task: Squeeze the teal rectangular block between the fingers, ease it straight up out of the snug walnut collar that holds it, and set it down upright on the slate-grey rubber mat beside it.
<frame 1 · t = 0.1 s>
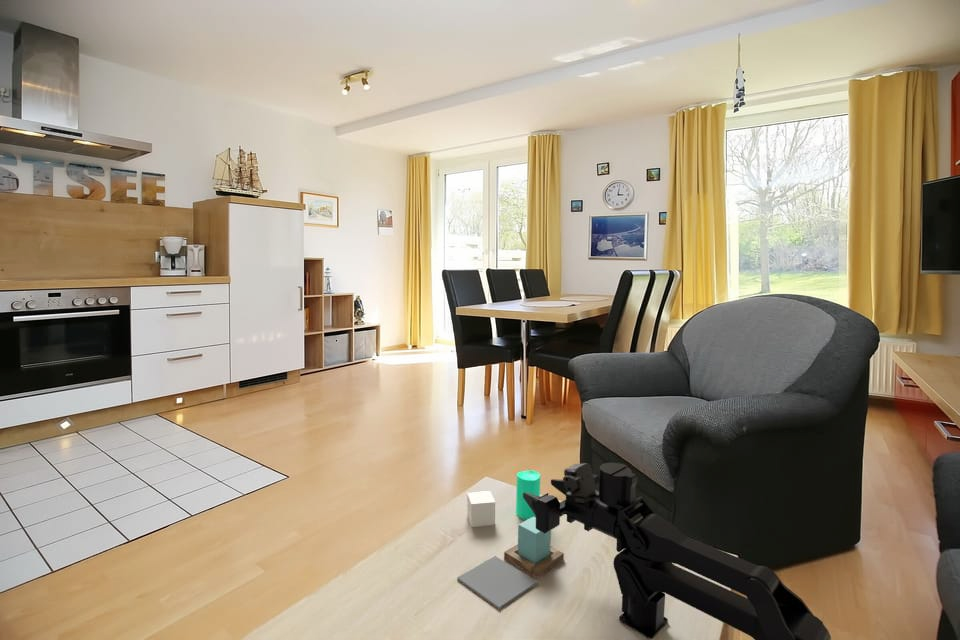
hand: (537, 487, 107), 17 cm above the table, tool horizontal, fingers open, 9 cm apart
white cube: (480, 520, 126), on the table
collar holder: (533, 558, 110), on the table
teal rectangular block: (533, 559, 110), resting in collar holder
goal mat: (496, 581, 102), on the table
candle: (527, 514, 129), on the table
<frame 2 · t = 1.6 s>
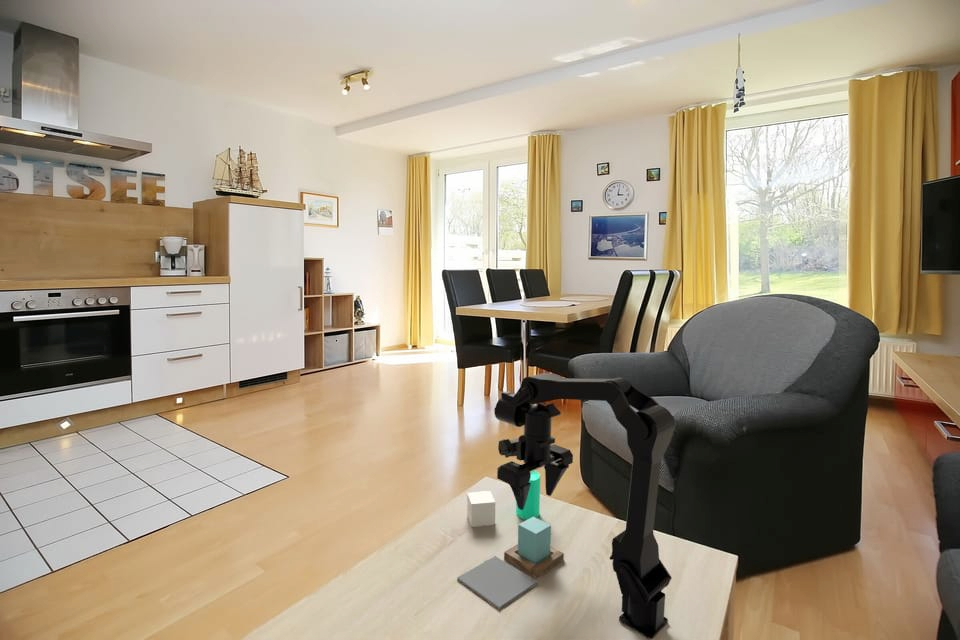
hand: (535, 501, 108), 13 cm above the table, tool pointing down, fingers open, 9 cm apart
nothing on the table moved.
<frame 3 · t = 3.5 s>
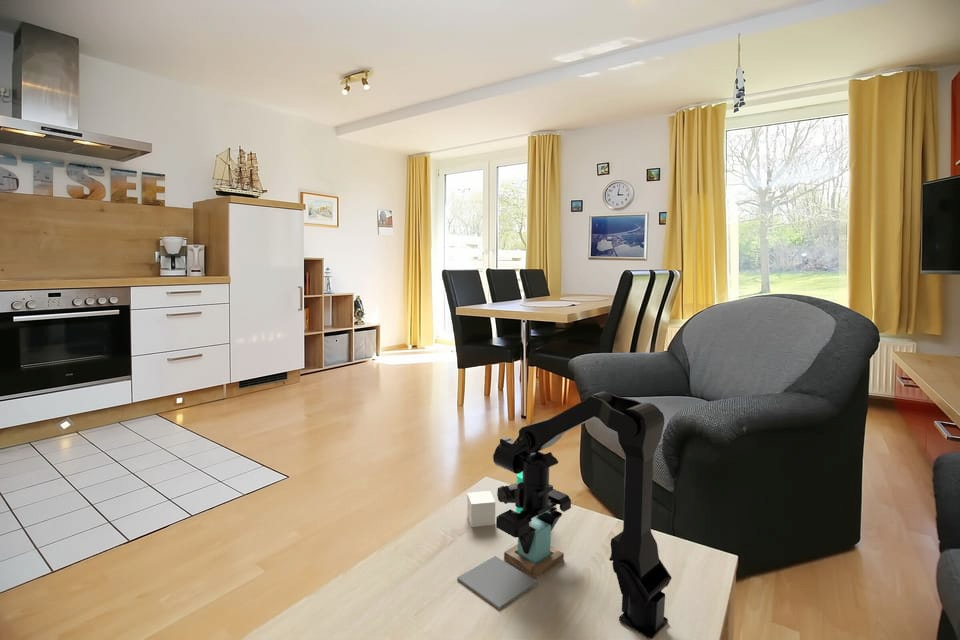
hand: (534, 548, 109), 3 cm above the table, tool pointing down, fingers closed on teal rectangular block, 5 cm apart
teal rectangular block: (533, 559, 110), resting in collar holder, touching gripper
everything else where it was.
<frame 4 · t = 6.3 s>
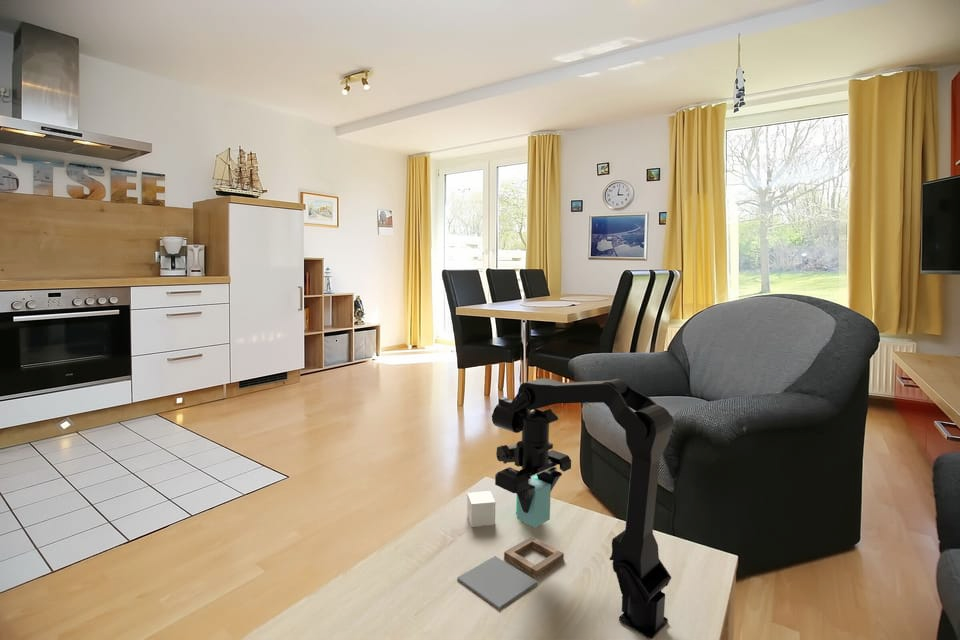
hand: (533, 507, 108), 12 cm above the table, tool pointing down, fingers closed on teal rectangular block, 5 cm apart
teal rectangular block: (533, 519, 108), point 9 cm above the table, touching gripper
everything else where it was.
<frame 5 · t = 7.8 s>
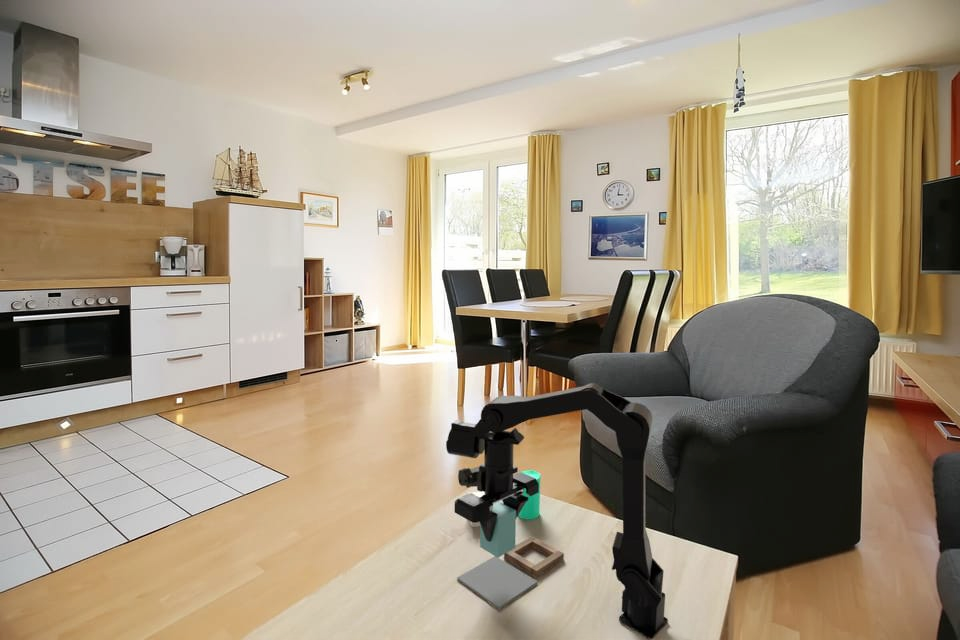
hand: (498, 535, 101), 10 cm above the table, tool pointing down, fingers closed on teal rectangular block, 5 cm apart
teal rectangular block: (497, 547, 101), point 7 cm above the table, touching gripper
everything else where it was.
when the fingers open (4 cm above the table, at t = 9.1 s): teal rectangular block drops 1 cm, resting on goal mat.
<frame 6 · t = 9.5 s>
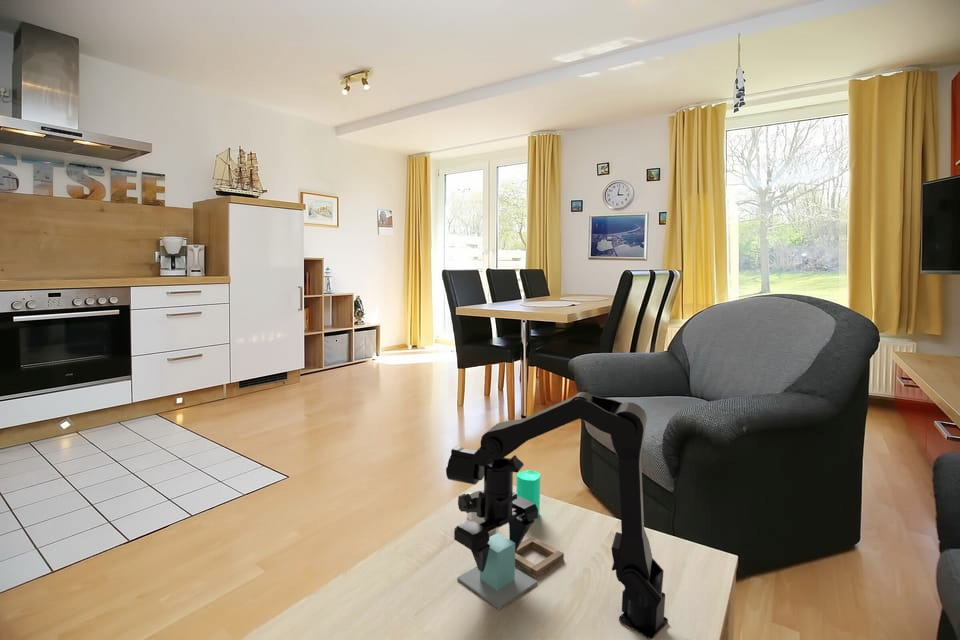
hand: (497, 561, 101), 4 cm above the table, tool pointing down, fingers open, 9 cm apart
teal rectangular block: (497, 579, 102), resting on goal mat
everything else where it was.
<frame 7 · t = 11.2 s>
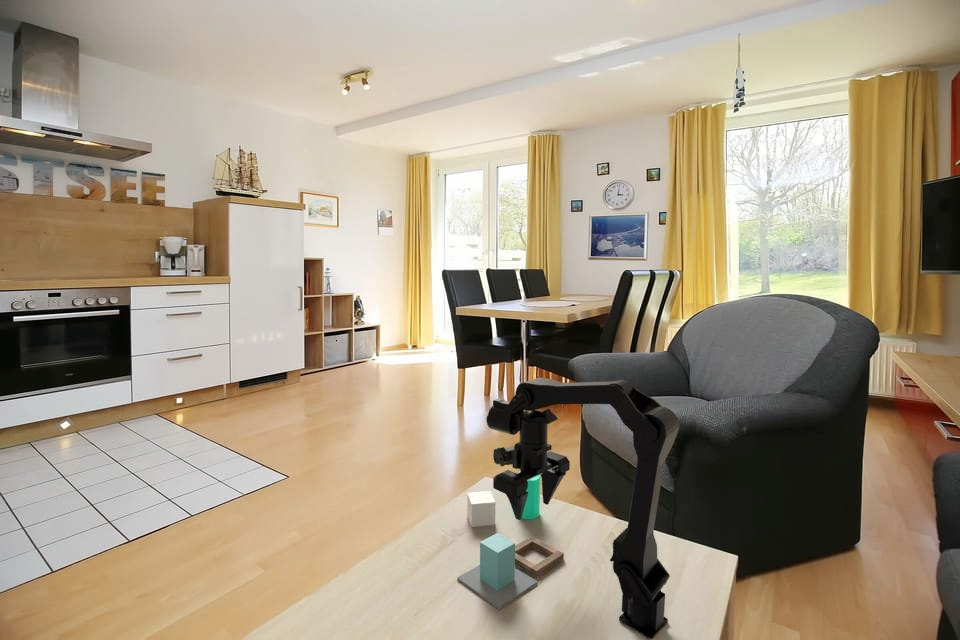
hand: (532, 511, 105), 13 cm above the table, tool pointing down, fingers open, 9 cm apart
nothing on the table moved.
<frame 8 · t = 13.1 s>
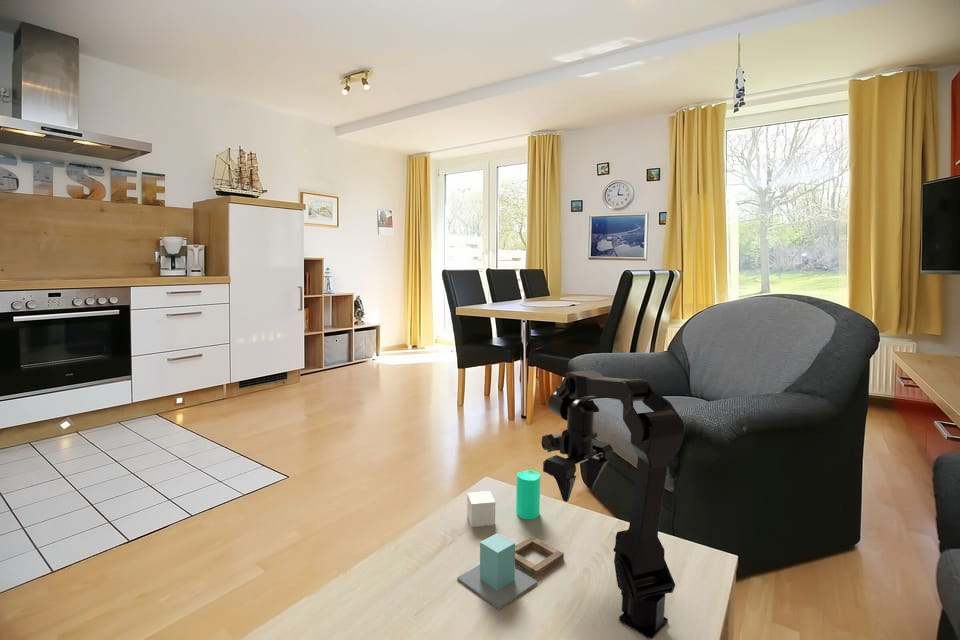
hand: (577, 494, 112), 13 cm above the table, tool pointing down, fingers open, 9 cm apart
nothing on the table moved.
at the end: teal rectangular block inside the target area on the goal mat (0.0 cm from its centre), point 0.5 cm above the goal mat's base; teal rectangular block tilted 0°; the gripper is holding nothing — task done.
